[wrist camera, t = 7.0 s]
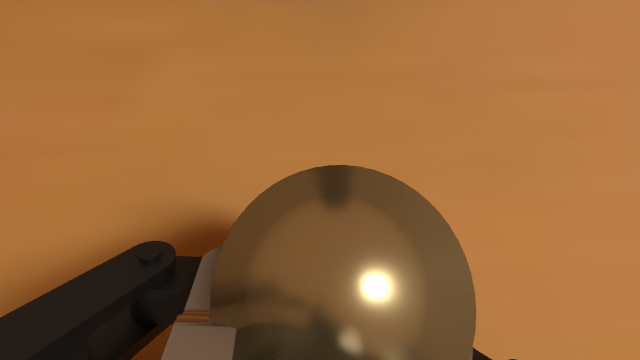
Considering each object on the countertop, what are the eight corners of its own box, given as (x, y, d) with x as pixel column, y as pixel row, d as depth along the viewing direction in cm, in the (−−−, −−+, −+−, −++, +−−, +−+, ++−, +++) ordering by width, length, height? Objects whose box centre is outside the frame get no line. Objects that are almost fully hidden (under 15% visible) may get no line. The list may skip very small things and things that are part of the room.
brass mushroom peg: (259, 256, 16) (173, 232, 6) (344, 211, 16) (384, 130, 7) (304, 355, 14) (279, 529, 5) (395, 300, 15) (532, 349, 5)
